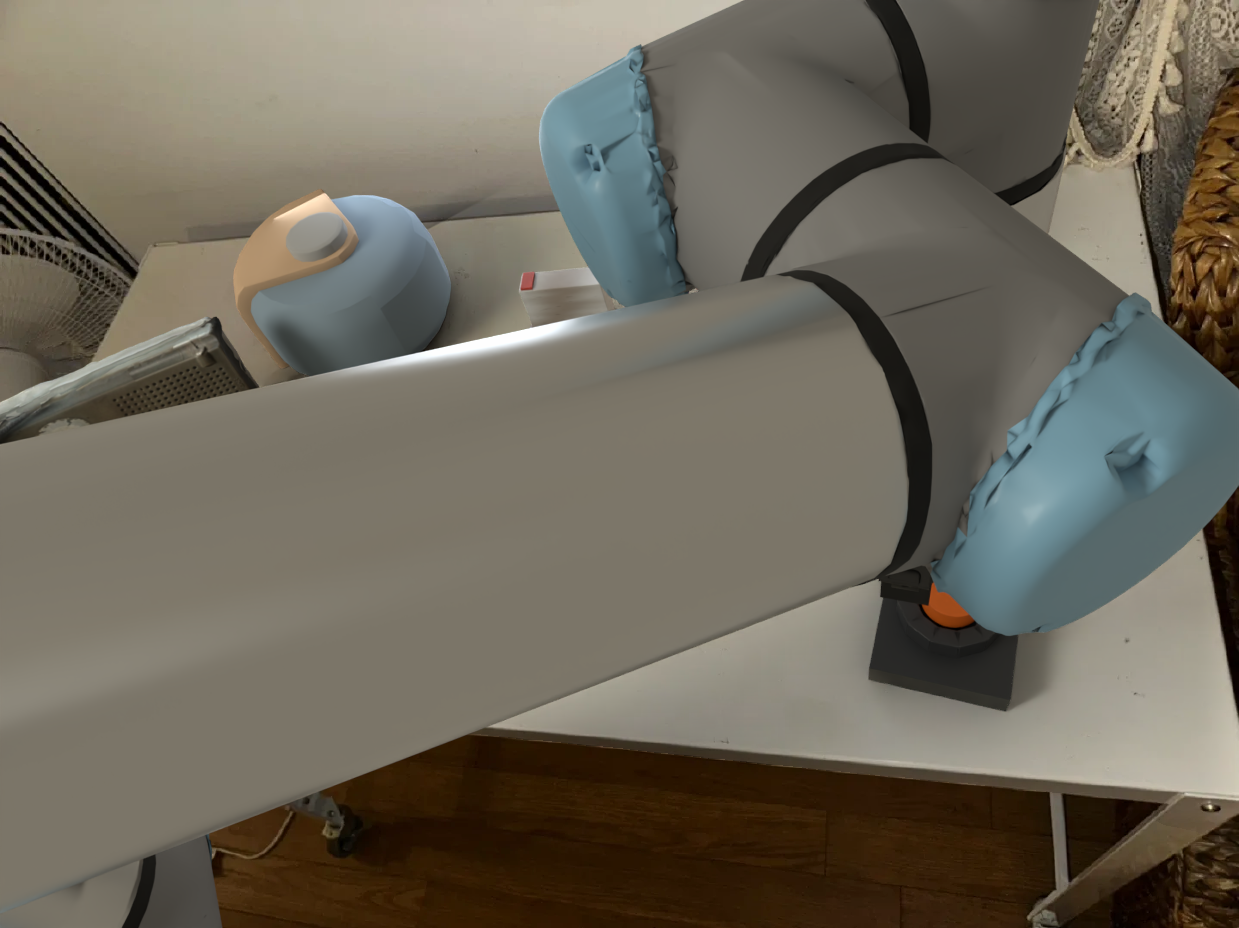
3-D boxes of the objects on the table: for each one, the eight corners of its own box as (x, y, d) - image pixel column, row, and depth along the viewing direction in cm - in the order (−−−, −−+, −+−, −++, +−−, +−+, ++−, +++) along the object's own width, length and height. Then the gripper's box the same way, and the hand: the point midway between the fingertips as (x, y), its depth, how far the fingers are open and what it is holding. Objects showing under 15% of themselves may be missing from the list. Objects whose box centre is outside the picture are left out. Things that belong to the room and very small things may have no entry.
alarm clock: (336, 245, 105) (284, 157, 95) (487, 266, 97) (448, 173, 88) (243, 372, 95) (175, 289, 86) (401, 406, 88) (347, 319, 78)
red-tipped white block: (623, 338, 83) (601, 263, 76) (622, 356, 82) (599, 281, 74) (549, 344, 85) (521, 271, 77) (546, 362, 83) (517, 290, 76)
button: (979, 633, 61) (982, 622, 59) (916, 620, 62) (918, 609, 61) (986, 581, 63) (989, 568, 61) (925, 569, 64) (927, 557, 63)
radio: (295, 395, 92) (213, 288, 80) (306, 457, 87) (219, 353, 75) (76, 483, 91) (-41, 389, 79) (73, 552, 86) (-52, 462, 74)
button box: (1006, 712, 61) (1015, 690, 58) (868, 680, 64) (869, 657, 61) (1022, 568, 66) (1031, 541, 63) (894, 545, 69) (897, 518, 66)
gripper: (901, 61, 47) (887, 340, 64) (807, 458, 34) (821, 673, 51) (1061, 60, 44) (1003, 350, 61) (1022, 486, 32) (962, 702, 49)
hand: (920, 498), depth 56 cm, fingers open, 13 cm apart
